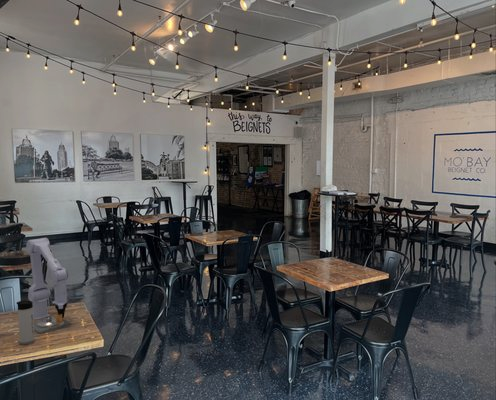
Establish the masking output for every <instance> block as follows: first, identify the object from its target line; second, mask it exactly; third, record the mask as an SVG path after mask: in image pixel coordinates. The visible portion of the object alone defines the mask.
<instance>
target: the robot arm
mask: <svg viewBox="0 0 496 400" xmlns="http://www.w3.org/2000/svg"><path fill="white" fill-rule="evenodd" d="M25 245H26V252H27V255H29V257H30V266H31V275H32V285H31V286H29V288H28V293H27V296H28V301H32V303H33V319H34V320H36V321H37V320H42V319H46V318H47V317H52V316H51V314H49V313H48V301H49V298H50V297H51V290H50V287H49V285H48V284H47V283H45V282H44V273H43V266H42V257H43V258H44V259H45V261H46V262H47V263H46V267H47V269H48V270H49V272H50V274H51V276H50V277H51V280H52V285H53V288H54V289H53V290H54V300H53V301H52V302H51V304H52V305H53V304H55V305H54V307H55V309H56V310H57V314H59V313H60V314H62V318H64V317H65V312H66V308H67V306H68V303H67V302H68V295H67V294H68V292H67V280H68V279H69V272H68V270H67V268H65V267H63V266H62V265H61V263H60V262H59V260H58V259H57V258H54V255H53V253H52V252H51V249H50V240H49V238H48V237H41V238H36V239H29V240H27V242H26V244H25ZM64 319H65V318H64Z"/></svg>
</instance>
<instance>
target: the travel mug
mask: <svg viewBox="0 0 496 400" xmlns="http://www.w3.org/2000/svg"><path fill="white" fill-rule="evenodd" d="M16 305H17V321H18V337H19V338H18V340H19V344H20V345H22V346H23V345H25V346H26V345H30V344H33V343H34V342H35V341H36V338H35V331H34V322H35V321H34V320H35V319H33V303H32V301H30V300H19V301H17V302H16Z"/></svg>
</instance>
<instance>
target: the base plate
mask: <svg viewBox="0 0 496 400" xmlns="http://www.w3.org/2000/svg"><path fill="white" fill-rule="evenodd" d="M51 317H52V318H53V317H56V315H55V316H51ZM39 321H40V320H38V321H37V320H36V321H34V333H36V334H38V335H42V334H45V333H49V332H53V331H56V330H59V329H62V328H65V327H68V326H69V327H70V326H72V322H71V321H69V320H67V319H65V318H62V322H65V324H63V325H61V326H57V325H55V326H51V324H49V327H38V326H37V323H38V322H39Z"/></svg>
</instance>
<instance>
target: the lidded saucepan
mask: <svg viewBox="0 0 496 400" xmlns="http://www.w3.org/2000/svg"><path fill="white" fill-rule="evenodd" d="M55 316H56V317H55ZM55 316H48V317H45V318H42V319H39V320H38V321H39V322H38V323H37V326H38V327H49V324H51V326H55V325H57V326H61V325H63V324H65V322H62V314H60V313H59V314H58V313H56V315H55ZM52 317H53V318H52Z"/></svg>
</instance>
